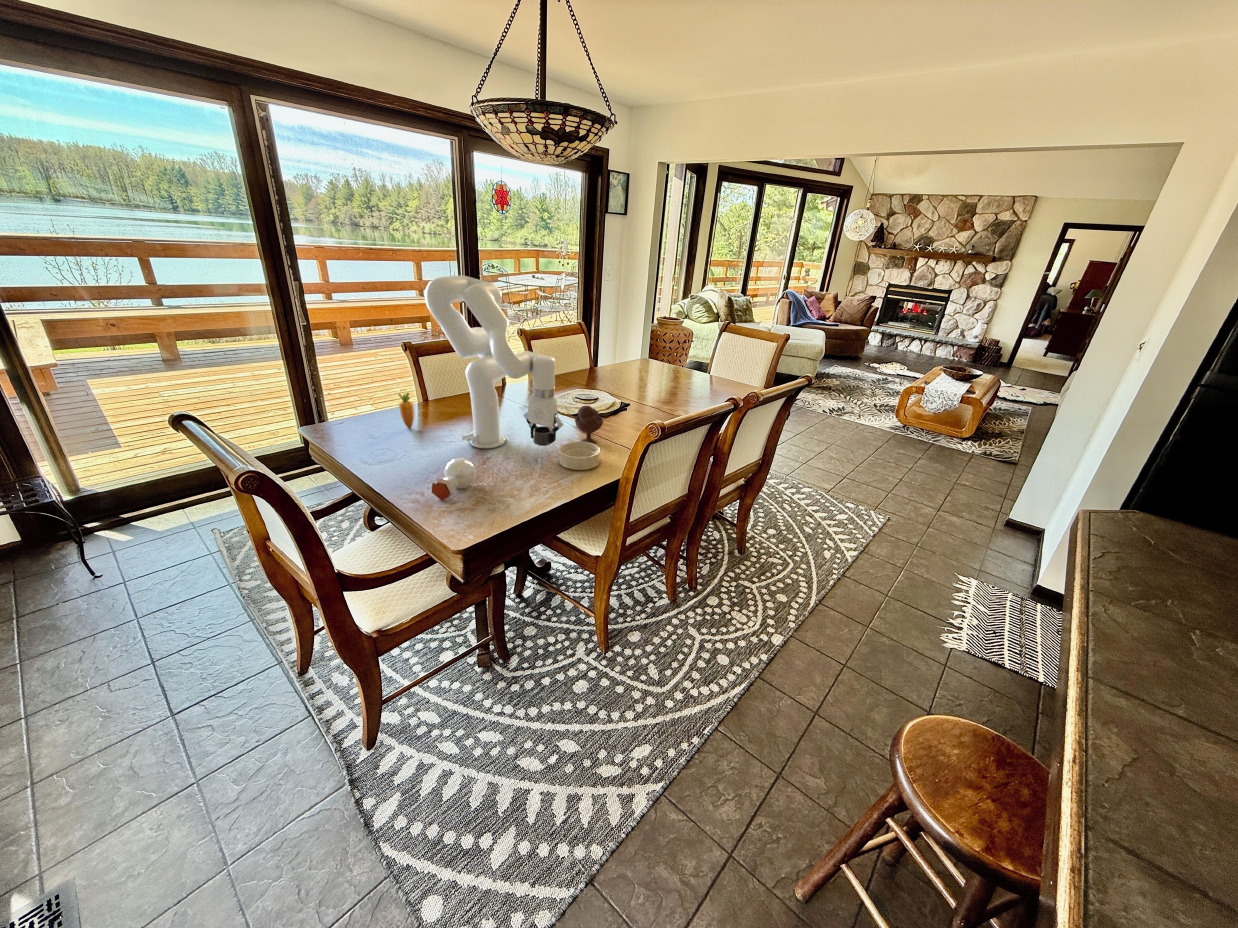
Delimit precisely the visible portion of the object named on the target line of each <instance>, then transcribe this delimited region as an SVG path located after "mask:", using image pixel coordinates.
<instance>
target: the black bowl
mask: <svg viewBox="0 0 1238 928" xmlns="http://www.w3.org/2000/svg"><path fill="white" fill-rule="evenodd" d="M549 433H550V430H549V428H548V427H546V426H542V425H539V426H537V427H536V428H534V430H533V438H532V439H533V440H532V441H533V444H534V445H537V446H539V447H540V446H541V447H547V446H550V445H551V444H550V443H549Z"/></svg>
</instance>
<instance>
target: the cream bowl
mask: <svg viewBox="0 0 1238 928" xmlns="http://www.w3.org/2000/svg"><path fill="white" fill-rule="evenodd" d="M600 462H601V448H600V447H599V446H598V445H597V444H596V443H595V444H593V443H589V442H582V440H581V441H580V440H579V441H578V440H577V441H570V442H569V441H568V442H566V443H563V444H562V445H560V446H559V448H558V463H559V464H560V465H561V466H562V467H564V468H566V469H569V470H574V471H576V470H577V471H584V470H590V469H593V468H596V467H597V466H599V465H600Z"/></svg>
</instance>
